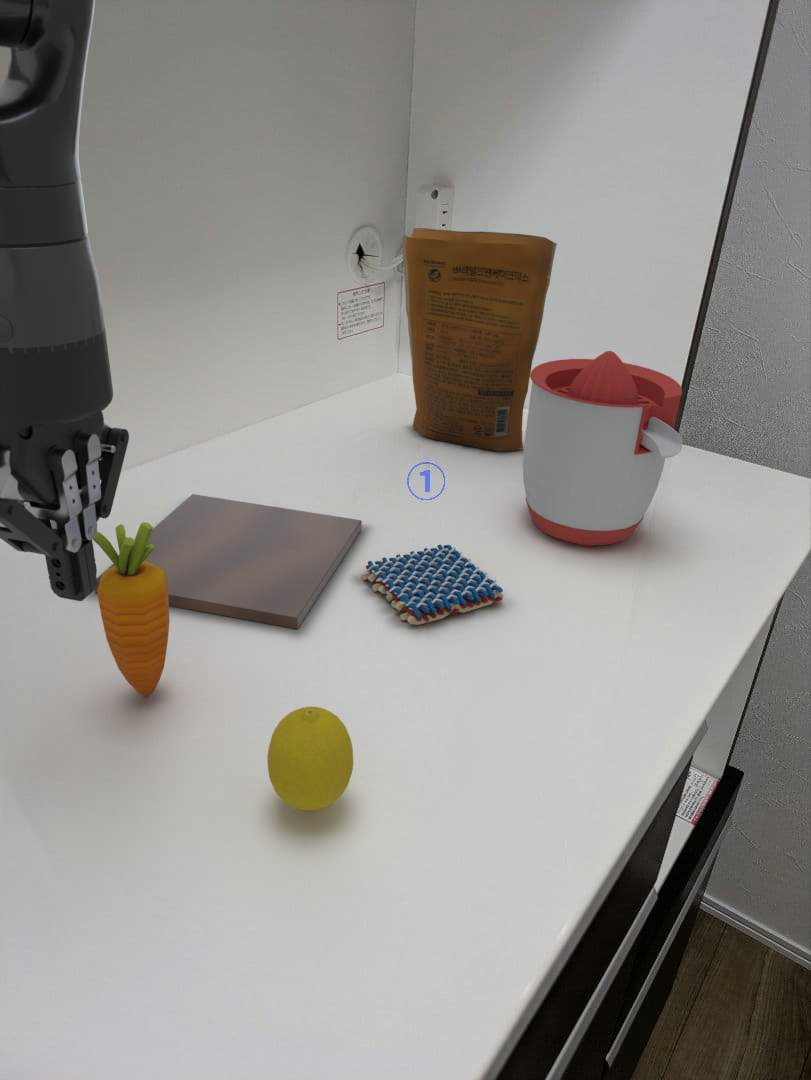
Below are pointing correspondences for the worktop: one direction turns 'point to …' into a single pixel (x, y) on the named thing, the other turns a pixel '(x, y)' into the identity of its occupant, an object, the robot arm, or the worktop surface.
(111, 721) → the worktop surface
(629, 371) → the citrus juicer
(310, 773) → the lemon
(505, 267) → the pancake mix bag
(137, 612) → the carrot
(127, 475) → the worktop surface
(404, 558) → the woven mat
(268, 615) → the walnut board
